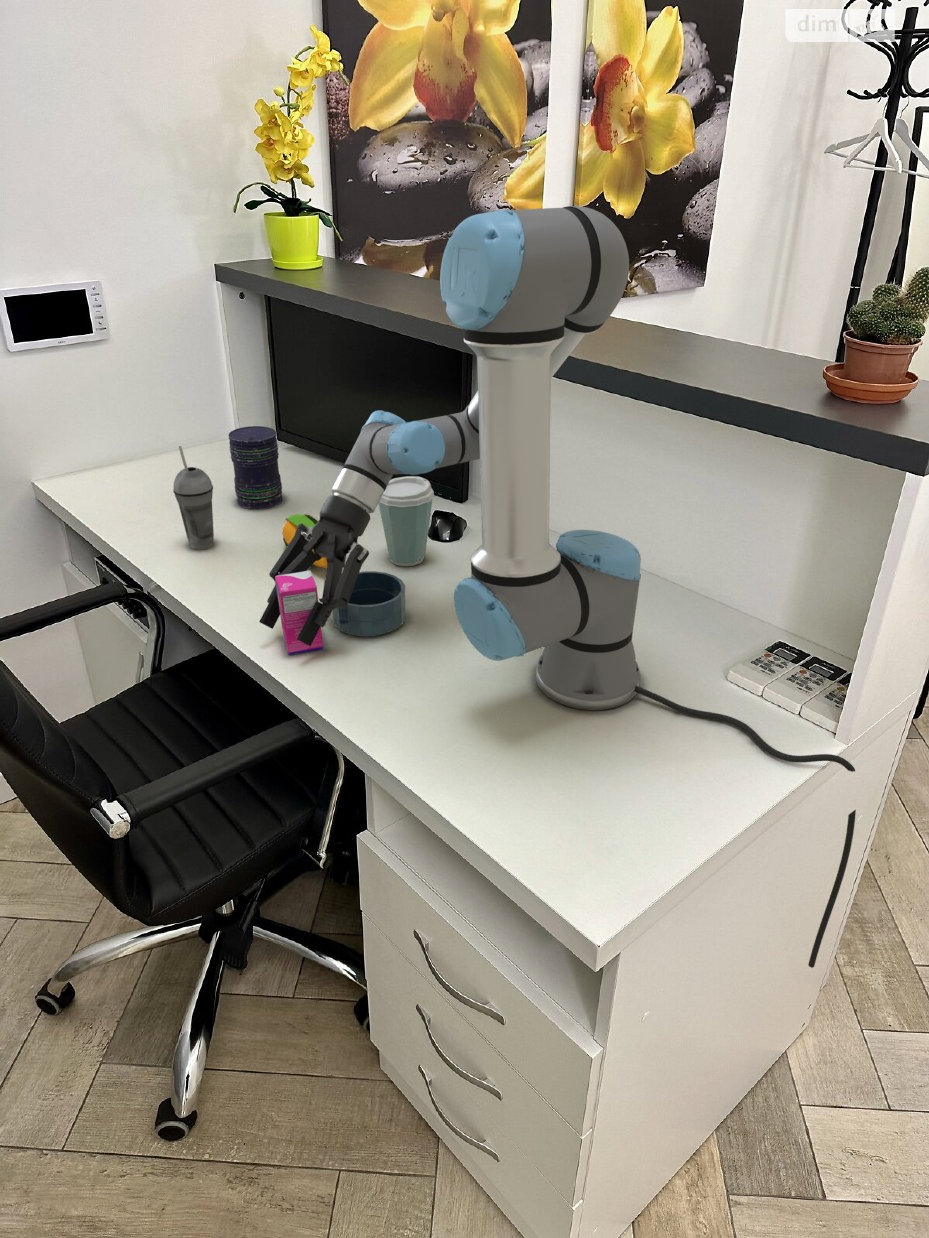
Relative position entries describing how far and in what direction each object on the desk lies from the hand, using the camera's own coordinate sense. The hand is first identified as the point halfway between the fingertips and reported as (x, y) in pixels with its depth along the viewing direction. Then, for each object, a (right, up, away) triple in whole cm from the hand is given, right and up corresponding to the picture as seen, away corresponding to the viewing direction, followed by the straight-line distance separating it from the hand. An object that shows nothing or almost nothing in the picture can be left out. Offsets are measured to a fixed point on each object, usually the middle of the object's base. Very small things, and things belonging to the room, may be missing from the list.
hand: (284, 633), depth 137 cm
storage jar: (-16, +28, +54) cm, 63 cm away
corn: (0, +13, +30) cm, 33 cm away
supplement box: (+2, -2, +4) cm, 5 cm away
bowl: (+12, +2, +11) cm, 16 cm away
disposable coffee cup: (+17, +13, +31) cm, 37 cm away
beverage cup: (-23, +16, +35) cm, 45 cm away
